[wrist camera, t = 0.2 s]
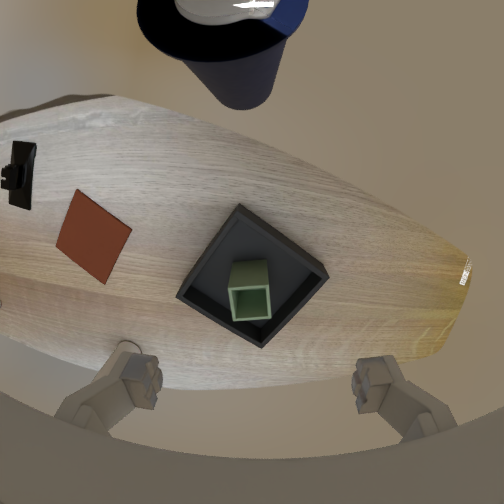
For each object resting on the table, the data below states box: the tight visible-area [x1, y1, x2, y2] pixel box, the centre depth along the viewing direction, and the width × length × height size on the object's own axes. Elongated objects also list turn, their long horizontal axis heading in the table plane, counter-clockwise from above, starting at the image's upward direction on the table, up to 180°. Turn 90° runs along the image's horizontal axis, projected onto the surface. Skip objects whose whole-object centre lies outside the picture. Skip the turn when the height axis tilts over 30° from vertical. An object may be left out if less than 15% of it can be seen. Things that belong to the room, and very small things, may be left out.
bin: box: [176, 203, 330, 349], centre depth 41 cm, size 16×16×5 cm
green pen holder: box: [228, 259, 271, 321], centre depth 39 cm, size 5×5×8 cm
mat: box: [56, 189, 132, 285], centre depth 42 cm, size 12×12×1 cm
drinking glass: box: [91, 341, 142, 383], centre depth 43 cm, size 7×7×15 cm
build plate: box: [1, 141, 37, 210], centre depth 35 cm, size 12×7×5 cm, turn 164°
